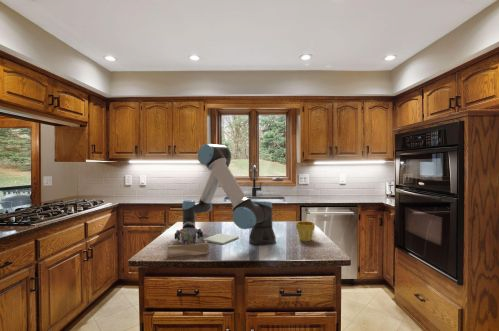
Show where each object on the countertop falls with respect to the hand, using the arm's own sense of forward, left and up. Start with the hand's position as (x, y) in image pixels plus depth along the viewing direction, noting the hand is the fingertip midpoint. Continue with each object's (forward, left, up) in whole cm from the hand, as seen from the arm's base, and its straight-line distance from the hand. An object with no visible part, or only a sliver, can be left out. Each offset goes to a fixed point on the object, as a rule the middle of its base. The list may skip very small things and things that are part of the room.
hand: (188, 239), depth 140 cm
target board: (0, -26, -7) cm, 27 cm away
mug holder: (+3, -3, -7) cm, 8 cm away
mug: (+3, -4, -7) cm, 8 cm away
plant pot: (-43, -50, -7) cm, 66 cm away
